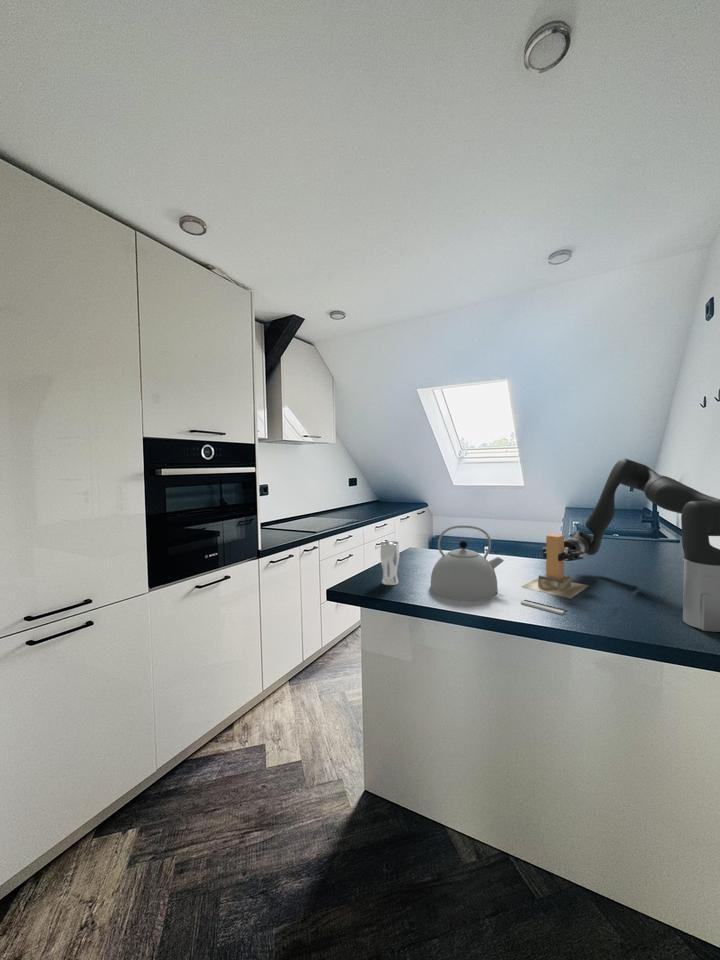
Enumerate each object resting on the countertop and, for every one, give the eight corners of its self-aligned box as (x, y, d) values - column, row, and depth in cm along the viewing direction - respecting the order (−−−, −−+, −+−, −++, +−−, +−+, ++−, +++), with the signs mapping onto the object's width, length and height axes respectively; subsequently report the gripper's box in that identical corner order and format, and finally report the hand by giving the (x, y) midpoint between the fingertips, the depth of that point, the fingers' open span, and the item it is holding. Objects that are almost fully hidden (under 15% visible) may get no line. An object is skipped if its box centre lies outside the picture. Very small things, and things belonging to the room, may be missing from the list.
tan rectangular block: (563, 581, 133) (564, 535, 132) (558, 584, 129) (558, 537, 129) (551, 578, 136) (552, 533, 135) (546, 581, 132) (546, 535, 132)
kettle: (496, 580, 143) (496, 520, 143) (512, 602, 121) (513, 531, 120) (428, 579, 147) (428, 520, 146) (432, 599, 124) (432, 530, 123)
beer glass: (380, 580, 145) (380, 540, 145) (398, 580, 145) (398, 540, 145) (380, 585, 139) (380, 544, 138) (400, 585, 138) (399, 544, 138)
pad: (576, 603, 119) (576, 602, 119) (562, 614, 111) (562, 612, 111) (537, 594, 128) (537, 592, 127) (520, 603, 119) (520, 601, 119)
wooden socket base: (589, 588, 133) (589, 574, 133) (570, 601, 121) (570, 586, 121) (541, 578, 145) (541, 566, 145) (520, 589, 133) (520, 576, 132)
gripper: (550, 536, 147) (531, 543, 135) (591, 541, 137) (574, 549, 125) (550, 555, 147) (530, 564, 136) (591, 562, 137) (574, 571, 125)
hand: (552, 556), depth 130 cm, fingers closed on tan rectangular block, 4 cm apart
